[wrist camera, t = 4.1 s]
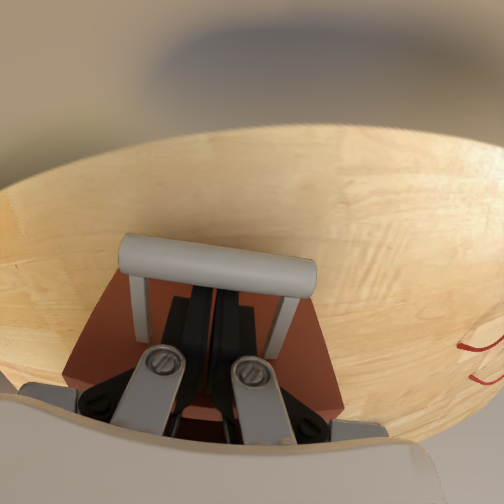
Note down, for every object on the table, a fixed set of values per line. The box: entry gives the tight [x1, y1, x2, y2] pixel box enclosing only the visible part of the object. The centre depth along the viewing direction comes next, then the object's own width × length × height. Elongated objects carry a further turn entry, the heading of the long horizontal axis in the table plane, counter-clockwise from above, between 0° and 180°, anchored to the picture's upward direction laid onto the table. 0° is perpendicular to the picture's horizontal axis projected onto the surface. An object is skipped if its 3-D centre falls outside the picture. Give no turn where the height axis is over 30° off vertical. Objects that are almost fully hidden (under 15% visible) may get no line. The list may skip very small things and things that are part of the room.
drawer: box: [62, 233, 344, 444], centre depth 14 cm, size 18×11×8 cm, turn 169°
